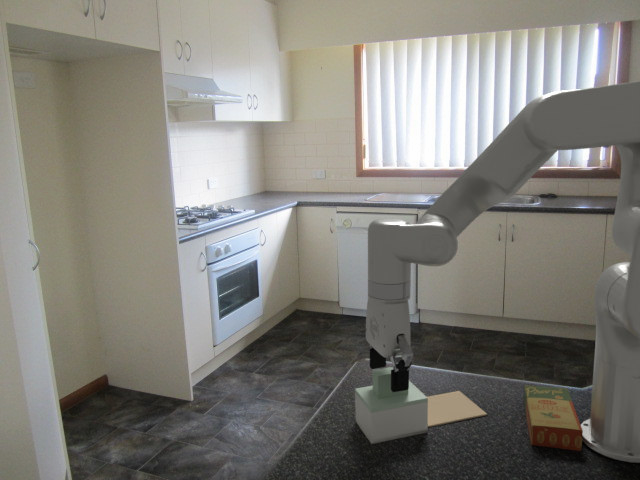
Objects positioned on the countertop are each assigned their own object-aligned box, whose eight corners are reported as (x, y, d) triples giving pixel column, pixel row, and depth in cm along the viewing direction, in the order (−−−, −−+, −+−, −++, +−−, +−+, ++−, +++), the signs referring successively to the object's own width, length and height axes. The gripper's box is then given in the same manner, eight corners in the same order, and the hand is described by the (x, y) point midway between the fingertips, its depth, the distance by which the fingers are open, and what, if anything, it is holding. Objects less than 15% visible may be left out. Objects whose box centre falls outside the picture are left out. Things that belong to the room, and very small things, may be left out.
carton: (529, 446, 92) (530, 424, 91) (522, 402, 107) (523, 382, 106) (582, 452, 90) (583, 429, 89) (567, 406, 105) (568, 386, 104)
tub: (408, 411, 104) (408, 383, 103) (427, 432, 97) (427, 402, 96) (355, 421, 101) (355, 392, 100) (371, 444, 94) (371, 413, 92)
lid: (408, 387, 103) (407, 357, 102) (427, 407, 96) (427, 374, 95) (355, 397, 100) (354, 366, 99) (371, 418, 93) (370, 384, 91)
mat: (459, 392, 111) (459, 390, 111) (486, 415, 102) (486, 413, 102) (402, 402, 108) (402, 401, 108) (426, 427, 98) (426, 426, 98)
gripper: (352, 278, 101) (352, 362, 104) (389, 305, 85) (388, 404, 88) (388, 275, 103) (387, 357, 106) (431, 300, 87) (429, 397, 90)
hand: (388, 378), depth 97 cm, fingers open, 9 cm apart
